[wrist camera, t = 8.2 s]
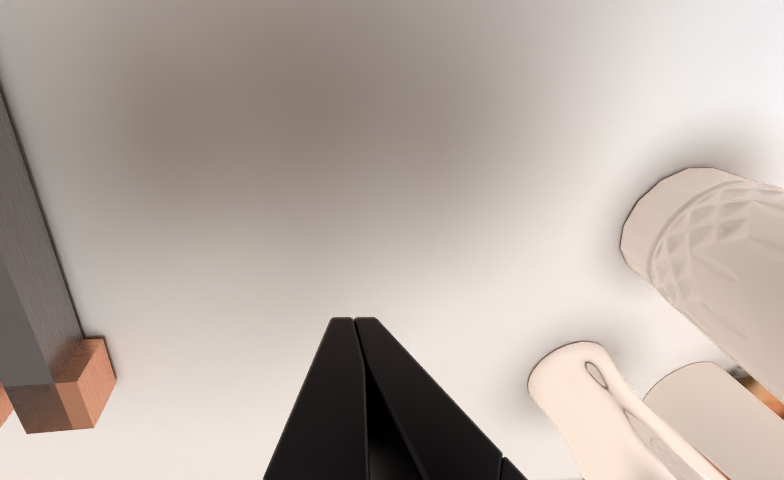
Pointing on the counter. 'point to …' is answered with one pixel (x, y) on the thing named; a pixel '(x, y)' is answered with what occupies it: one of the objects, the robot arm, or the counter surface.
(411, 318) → the counter surface
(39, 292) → the bar
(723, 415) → the beige tall box
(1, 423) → the base
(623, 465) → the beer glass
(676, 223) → the white cup
